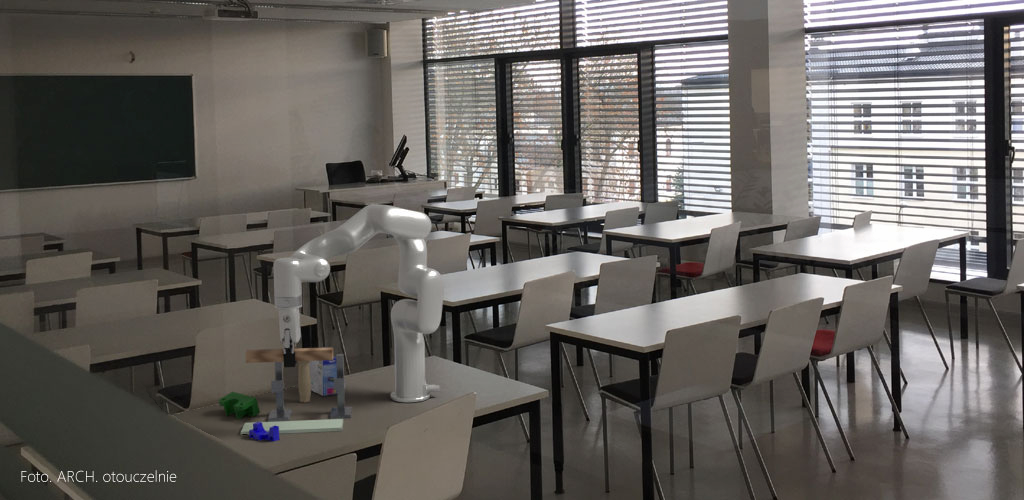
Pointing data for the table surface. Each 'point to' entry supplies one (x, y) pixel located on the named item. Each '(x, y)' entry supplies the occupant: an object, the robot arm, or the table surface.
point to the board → (299, 426)
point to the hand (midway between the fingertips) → (290, 364)
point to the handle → (304, 381)
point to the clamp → (239, 405)
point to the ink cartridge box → (323, 376)
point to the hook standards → (284, 415)
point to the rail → (300, 353)
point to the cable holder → (264, 432)
